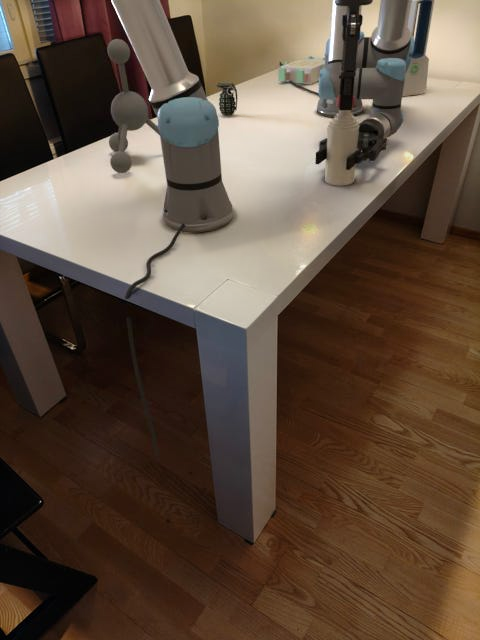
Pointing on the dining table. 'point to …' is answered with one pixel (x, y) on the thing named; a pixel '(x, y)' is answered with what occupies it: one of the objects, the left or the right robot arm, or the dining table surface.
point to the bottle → (341, 148)
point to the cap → (339, 101)
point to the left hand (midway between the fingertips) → (345, 106)
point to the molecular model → (125, 110)
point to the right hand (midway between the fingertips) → (332, 161)
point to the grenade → (227, 99)
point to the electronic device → (418, 47)
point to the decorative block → (302, 70)
